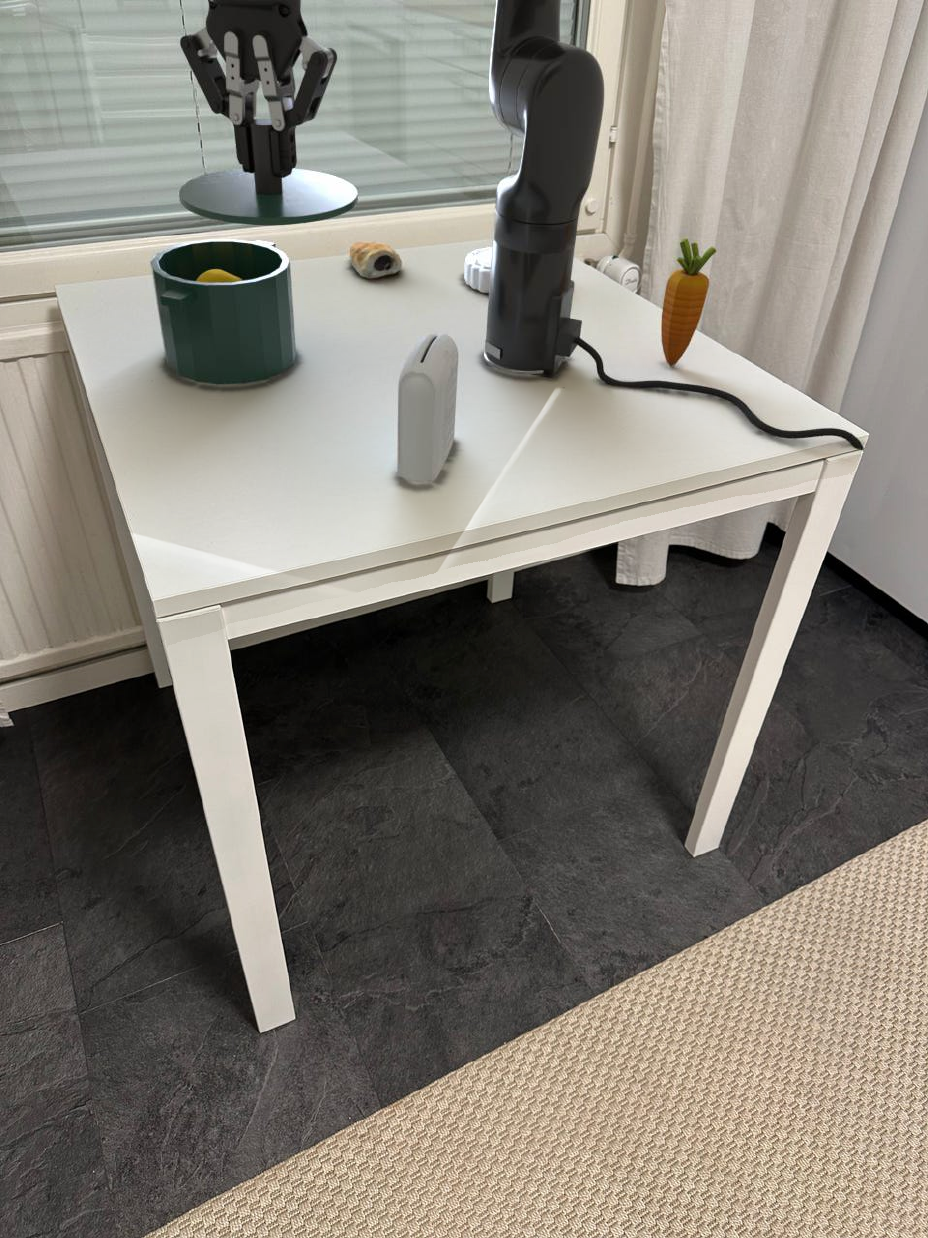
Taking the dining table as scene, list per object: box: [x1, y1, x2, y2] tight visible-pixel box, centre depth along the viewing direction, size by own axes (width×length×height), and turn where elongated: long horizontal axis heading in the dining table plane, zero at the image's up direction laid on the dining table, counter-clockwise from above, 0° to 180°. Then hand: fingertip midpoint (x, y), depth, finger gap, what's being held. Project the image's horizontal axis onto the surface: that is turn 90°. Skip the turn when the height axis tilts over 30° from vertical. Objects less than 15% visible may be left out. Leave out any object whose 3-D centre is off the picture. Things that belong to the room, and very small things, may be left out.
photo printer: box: [396, 332, 459, 483], centre depth 88 cm, size 10×4×12 cm, turn 168°
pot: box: [149, 238, 297, 386], centre depth 104 cm, size 15×20×12 cm
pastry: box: [349, 241, 403, 280], centre depth 133 cm, size 9×7×4 cm
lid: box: [178, 118, 359, 227], centre depth 80 cm, size 16×16×7 cm
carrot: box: [660, 238, 717, 367], centre depth 108 cm, size 5×5×15 cm
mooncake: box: [463, 246, 492, 294], centre depth 131 cm, size 12×12×4 cm
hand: (268, 172), depth 81 cm, fingers closed on lid, 2 cm apart
